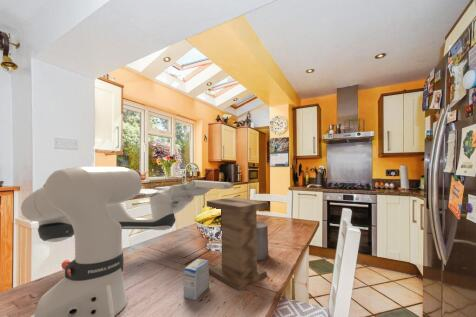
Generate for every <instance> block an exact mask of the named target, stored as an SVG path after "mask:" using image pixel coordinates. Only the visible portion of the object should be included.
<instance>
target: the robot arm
mask: <svg viewBox="0 0 476 317" xmlns="http://www.w3.org/2000/svg"><path fill="white" fill-rule="evenodd" d="M194 185H195V183H194V181H193V180H192V181H189V182H188V183H186V184H173V185H171V186H170V187H169V188H168V190H167V189H166V190H165V189H162V190H159V191H158V190H157V191H156V192H155V193H153V194H152V195H151V196H150V197H149V204H150V210H151V216H152V217H151V218H145V217H144V218H143V217H142V218H140V217H137V218H136V217H133V216H132V215H130V214H129V212H127V210H126V208H125V207H124V205H123V202H126V201H128V200H131V199H133V198H135V197H137V196H138V195H139V194H140V193H141V190H142V186H143V182H142V177H141V175H140V173H138V171H136V170H135V169H132V168H128V167H124V166H74V167H73V166H72V167H66V168H63V169H57V170H55V171H53V172H52V173H51V174H50V175H49V176H48V177H47V179H46V181H45V183H44V184H43V186H42V187H39V188H38V189H36V190H35V191H32V193H30V194H29V195H28V196H26V197H25V198H24V199H23V200H22V202H21V205H20V211H21V215H22V216H24V217H25V219H27V220H29V221H31V222H36V223H37V222H38V228H37V232H38V236H39V239H41V240H42V241H43V242H48V243H49V242H50V243H59V242H63V241H66V240H68V239H70V238H72V237H73V236H74V259H73V260H72V261H70V260H69V259H65V260H64V261H62V262H61V268H62V270H63V271H64V277H63V278H61V279H60V281H58V282H57V283H56V284H55V285H54V286H52V287H51V288H50V289H48V290H47V291H46V292H45V293H44V294H43V295H41V297H40V298H39V301H38V303H37V305H36V308H35V311H34V314H32V315H30V316H29V317H116V316H117V314H119V313H120V312H121V311H122V310H123V309H124V308H125V307H126V305H127V304H128V297H127V294H126V289H125V286H124V285H125V284H124V278H123V271H124V265H125V264H124V263H125V257H124V251H123V250H122V249H123V248H122V245H123V240H122V239H123V238H122V236H123V230H156V231H166V230H169V229H171V228H172V227H173V226H174V224H175V223H176V216H175V214H178V213H179V212H181V211H182V210H183V209H184V208H186V207H187V206H188V205H189V204H190V203H192V201H194V198H195V197H198V196H204V195H205V194H207V193H209V192H210V191H211V189H212V188H206V187H197V186H194Z"/></svg>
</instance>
